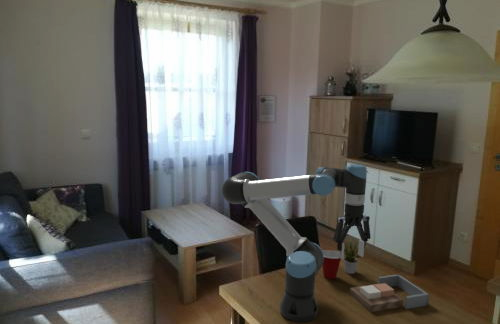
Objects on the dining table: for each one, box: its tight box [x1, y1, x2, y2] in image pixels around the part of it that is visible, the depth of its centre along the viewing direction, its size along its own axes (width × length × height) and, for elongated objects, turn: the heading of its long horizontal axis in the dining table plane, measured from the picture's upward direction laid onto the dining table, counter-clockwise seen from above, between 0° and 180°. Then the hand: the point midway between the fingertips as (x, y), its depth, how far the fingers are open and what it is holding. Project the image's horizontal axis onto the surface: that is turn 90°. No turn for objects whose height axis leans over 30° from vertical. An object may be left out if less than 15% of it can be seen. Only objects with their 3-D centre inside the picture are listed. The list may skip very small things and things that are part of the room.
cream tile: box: [360, 284, 381, 299], centre depth 164 cm, size 6×6×2 cm
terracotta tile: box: [372, 283, 395, 297], centre depth 166 cm, size 6×6×2 cm
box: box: [377, 273, 430, 310], centre depth 169 cm, size 11×19×5 cm, turn 18°
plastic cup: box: [321, 250, 342, 280], centre depth 185 cm, size 11×11×12 cm
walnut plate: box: [349, 283, 405, 313], centre depth 165 cm, size 16×15×3 cm
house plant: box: [343, 238, 369, 275], centre depth 191 cm, size 14×14×16 cm
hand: (350, 256), depth 157 cm, fingers open, 9 cm apart
